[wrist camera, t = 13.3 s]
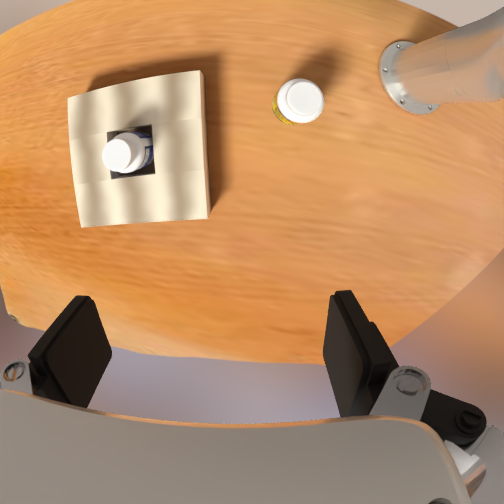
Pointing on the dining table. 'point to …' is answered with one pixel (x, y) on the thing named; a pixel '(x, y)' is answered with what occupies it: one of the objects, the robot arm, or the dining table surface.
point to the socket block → (164, 145)
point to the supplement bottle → (298, 102)
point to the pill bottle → (128, 152)
